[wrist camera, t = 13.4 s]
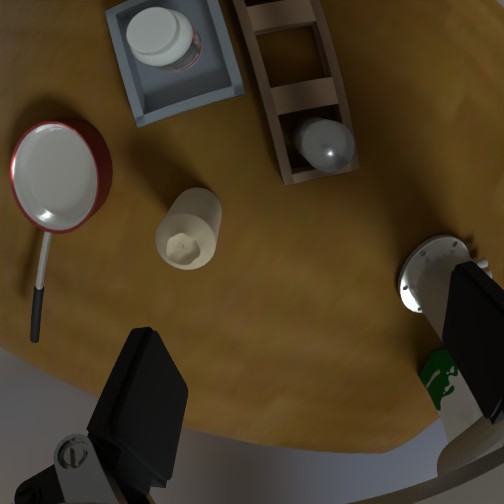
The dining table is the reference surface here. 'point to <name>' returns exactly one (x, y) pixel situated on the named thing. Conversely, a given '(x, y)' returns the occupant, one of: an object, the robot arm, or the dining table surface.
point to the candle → (190, 229)
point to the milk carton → (449, 393)
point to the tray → (184, 82)
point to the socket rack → (298, 94)
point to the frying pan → (58, 184)
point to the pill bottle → (164, 39)
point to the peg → (323, 142)
